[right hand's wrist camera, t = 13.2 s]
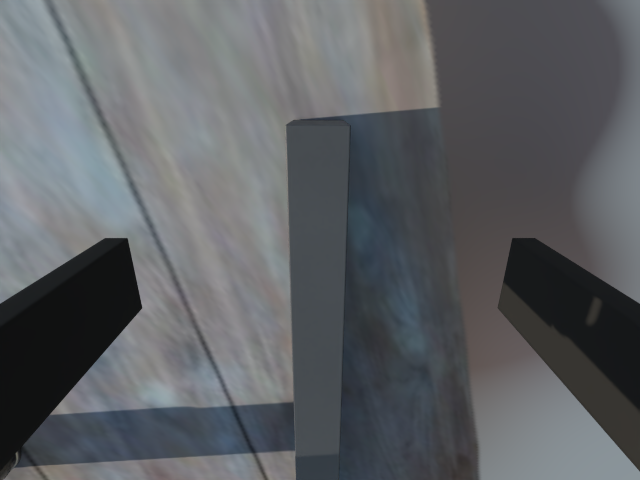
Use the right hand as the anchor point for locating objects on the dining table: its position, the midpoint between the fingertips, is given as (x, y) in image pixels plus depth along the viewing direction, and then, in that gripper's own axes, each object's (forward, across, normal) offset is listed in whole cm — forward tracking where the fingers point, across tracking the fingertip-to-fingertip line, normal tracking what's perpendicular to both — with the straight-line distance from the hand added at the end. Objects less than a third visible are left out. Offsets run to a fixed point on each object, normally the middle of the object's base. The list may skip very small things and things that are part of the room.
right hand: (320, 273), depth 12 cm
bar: (+26, 0, -26) cm, 37 cm away
